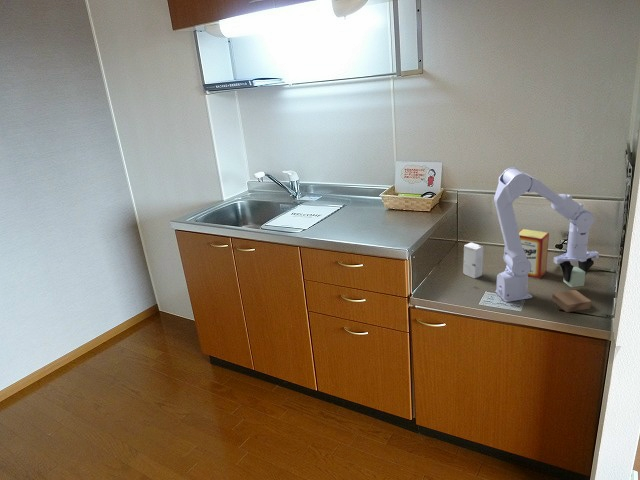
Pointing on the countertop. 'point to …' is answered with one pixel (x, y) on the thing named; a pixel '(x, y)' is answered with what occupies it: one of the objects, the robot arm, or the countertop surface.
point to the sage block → (576, 277)
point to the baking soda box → (535, 250)
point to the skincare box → (473, 260)
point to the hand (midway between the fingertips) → (573, 279)
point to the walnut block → (571, 301)
